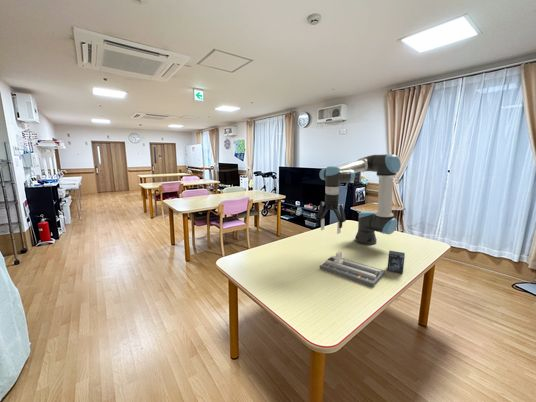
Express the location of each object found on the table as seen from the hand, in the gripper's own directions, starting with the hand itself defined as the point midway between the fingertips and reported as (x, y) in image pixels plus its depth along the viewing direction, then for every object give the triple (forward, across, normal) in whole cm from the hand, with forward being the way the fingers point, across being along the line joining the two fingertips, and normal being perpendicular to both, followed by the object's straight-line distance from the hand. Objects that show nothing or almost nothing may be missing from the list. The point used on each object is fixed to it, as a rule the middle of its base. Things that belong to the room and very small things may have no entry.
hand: (330, 231), depth 140 cm
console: (+21, +14, 0) cm, 25 cm away
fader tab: (+18, +6, 0) cm, 19 cm away
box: (+21, +32, +17) cm, 42 cm away
